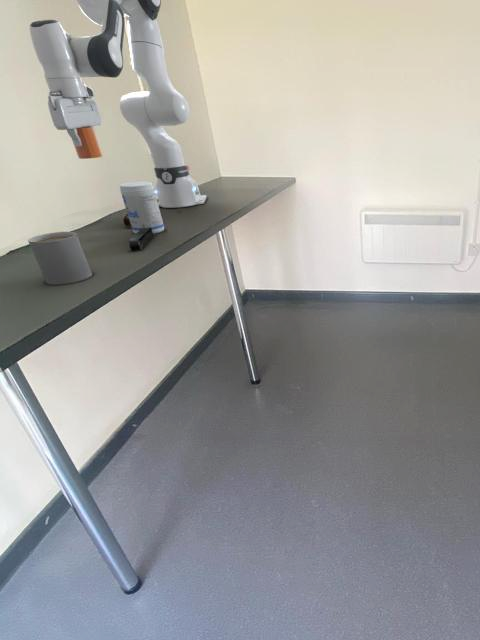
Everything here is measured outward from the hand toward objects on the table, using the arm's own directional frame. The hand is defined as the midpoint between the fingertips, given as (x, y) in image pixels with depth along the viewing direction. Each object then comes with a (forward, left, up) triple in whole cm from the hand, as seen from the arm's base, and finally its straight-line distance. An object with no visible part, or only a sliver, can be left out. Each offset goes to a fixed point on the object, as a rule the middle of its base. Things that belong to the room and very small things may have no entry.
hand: (86, 144), depth 146 cm
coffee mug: (+47, +10, -26) cm, 54 cm away
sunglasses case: (-14, +3, -26) cm, 30 cm away
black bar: (+17, +16, -26) cm, 35 cm away
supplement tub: (+3, +12, -26) cm, 29 cm away
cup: (0, 0, -3) cm, 3 cm away
